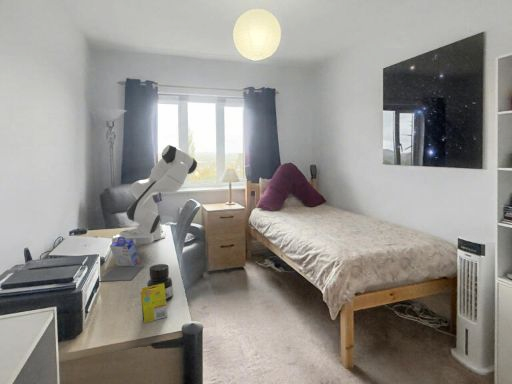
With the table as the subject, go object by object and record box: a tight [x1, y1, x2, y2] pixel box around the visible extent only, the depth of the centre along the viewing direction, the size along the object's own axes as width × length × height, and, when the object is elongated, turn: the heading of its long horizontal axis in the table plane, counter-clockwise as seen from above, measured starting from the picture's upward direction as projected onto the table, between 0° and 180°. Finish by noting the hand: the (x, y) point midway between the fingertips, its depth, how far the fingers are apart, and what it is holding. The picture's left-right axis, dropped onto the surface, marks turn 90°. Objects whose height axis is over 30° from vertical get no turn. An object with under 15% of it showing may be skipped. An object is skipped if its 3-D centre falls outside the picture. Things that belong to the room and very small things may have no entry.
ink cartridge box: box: [109, 237, 140, 267], centre depth 152 cm, size 10×6×14 cm, turn 78°
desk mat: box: [100, 265, 144, 283], centre depth 143 cm, size 17×14×1 cm
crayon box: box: [140, 283, 168, 324], centre depth 102 cm, size 7×3×12 cm, turn 119°
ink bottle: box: [146, 263, 174, 302], centre depth 116 cm, size 10×9×12 cm
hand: (128, 243), depth 154 cm, fingers closed
